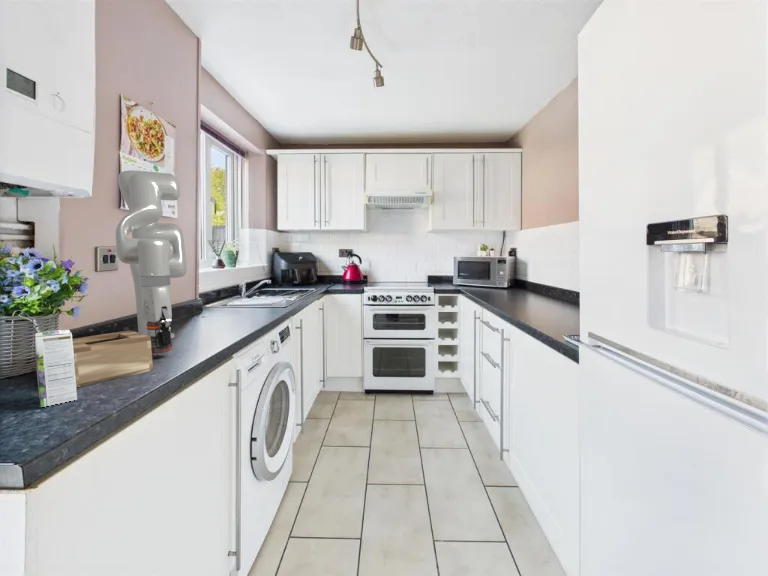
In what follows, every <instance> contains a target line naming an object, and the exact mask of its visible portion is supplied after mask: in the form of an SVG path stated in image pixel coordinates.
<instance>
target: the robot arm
mask: <svg viewBox="0 0 768 576" xmlns="http://www.w3.org/2000/svg"><path fill="white" fill-rule="evenodd" d="M117 181H118V183H117V184H118V187H119V190H120V194H121V196H122V197H123V199H124V202H125V204H126V205H127V207H128V210H129V212H128V213H126V215H124V216H123V217H122V218H121V219H120V221H119V223H118V224H117V227H116V230H115V246H116V247H115V248H116V249H115V250H116V254H117V258H118V260H119V261H120V262H121V263H123V264H126V265H129V268H130V272H131V276H132V279H133V285H134V286H133V287H134V294H135V305H136V306H135V307H136V308H135V309H136V316H137V317H136V319H137V329H138V332H137V333H141V334H144V335H147V322H152V323H156V322H157V326H158V330H159V332H157V335H158V345H159V346H163V345H168V344H171V340H172V339H173V338H175V333H174V332H171V336H170V328H171V323H172V318H173V313H172V311H173V310H172V300H171V295H170V289H169V288H170V287H171V283H172V282H171V279H173V278H174V279H175V278H182V277H184V276H185V275H186V273H187V258H186V248H185V239H184V233H183V231H182V228H181V227H180V225H178V224H176V223H170V222H169V223H168V222H167V223H165V222H160V221H159V220H161V219H162V217H163V215H164V213H163V212H164V211H163V207H162V206H163V205H162V201H178V199H179V198H180V196H181V187H180V186H181V185H180V183H179V180H178V178H177V177H176V176H175V175H174V174H171V173H166V172H155V171H145V170H123V171H121V172H120V173H119V174H118V176H117ZM130 233H131V237H129V238H128V235H129V234H130ZM160 319H164V320H163V321H159V320H160ZM161 323H164V324H162V327H161Z"/></svg>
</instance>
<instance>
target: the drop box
mask: <svg viewBox="0 0 768 576" xmlns="http://www.w3.org/2000/svg"><path fill="white" fill-rule="evenodd" d="M72 342H73V352H74V365H75V377H76V389H78V388H77V387H79V388H82V386H83V387H87V386H91V385H96V384H101V383H104V382H107V381H112V380H117V379H121V378H126V377H131V376H134V375H139V374H144V373H147V372H151V371H154V363H153V355H152V354H153V353H152V350H151V337H150V336H147V335H144V334H141V333H139V332H137V331H135V330H130V329H129V330H123V331H117V332H111V333H103V334H96V335H90V336H84V337H77V338H76V337H75V338H72Z"/></svg>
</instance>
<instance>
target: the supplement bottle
mask: <svg viewBox="0 0 768 576" xmlns="http://www.w3.org/2000/svg"><path fill="white" fill-rule="evenodd" d="M163 320H164V319H160V320H159V321H163ZM162 324H164V323H161V327H162ZM157 332H159V330H158V326H157V322H156V323H152V322H147V336H150V337H151V350H152V354H163V353H168V352H169V351H172V349H173V342H172V339H171V344H168V345H163V346H159V345H158V335H157ZM171 333H172V329H171V327H170V336H171Z"/></svg>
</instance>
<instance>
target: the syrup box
mask: <svg viewBox="0 0 768 576" xmlns="http://www.w3.org/2000/svg"><path fill="white" fill-rule="evenodd" d="M72 339H73V334H72V331H71V330H70V329H58V330H57V329H56V330H54V329H53V330H47V331H46V330H45V331H42V332H41V331H40V332H35V333H34V345H35V349H34V350H35V362H36V365H35V366H36V375H37V386H38V396H39V405H40V408H41V407H45V408H47V407H46V406H49V407H52V406H51V405H54V406H56V405H55V404H58V405H61V404H60V403H62V404H66V403H65V402H67V403H69V401H71V402H75V401H78V391H77V389H78V388H76V377H75V365H74V352H73V342H72ZM74 400H75V401H74Z"/></svg>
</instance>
